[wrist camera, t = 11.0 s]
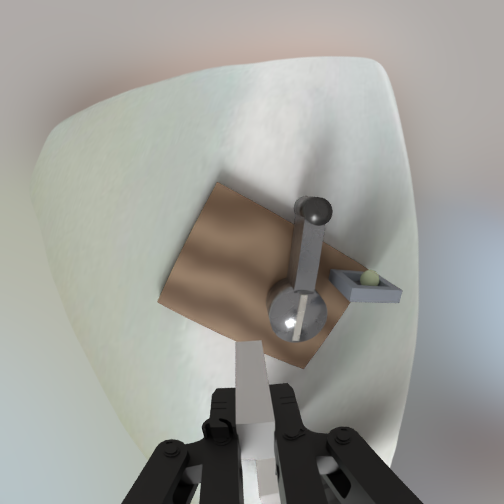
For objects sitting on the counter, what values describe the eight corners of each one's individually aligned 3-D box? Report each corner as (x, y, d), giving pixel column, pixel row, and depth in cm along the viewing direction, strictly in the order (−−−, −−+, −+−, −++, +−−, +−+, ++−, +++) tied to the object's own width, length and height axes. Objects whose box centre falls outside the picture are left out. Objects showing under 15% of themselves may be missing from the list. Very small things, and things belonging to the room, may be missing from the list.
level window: (372, 283, 37) (399, 302, 30) (328, 280, 37) (349, 301, 29) (376, 265, 37) (404, 281, 29) (332, 260, 36) (354, 278, 29)
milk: (293, 417, 44) (318, 516, 23) (262, 427, 45) (275, 526, 23) (283, 397, 43) (308, 504, 22) (250, 408, 43) (260, 515, 22)
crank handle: (311, 325, 38) (323, 347, 32) (262, 323, 37) (267, 345, 32) (333, 200, 34) (350, 202, 29) (279, 192, 34) (288, 192, 28)
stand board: (301, 363, 42) (303, 370, 40) (159, 297, 38) (156, 302, 36) (365, 267, 39) (370, 270, 37) (218, 182, 35) (217, 181, 33)
